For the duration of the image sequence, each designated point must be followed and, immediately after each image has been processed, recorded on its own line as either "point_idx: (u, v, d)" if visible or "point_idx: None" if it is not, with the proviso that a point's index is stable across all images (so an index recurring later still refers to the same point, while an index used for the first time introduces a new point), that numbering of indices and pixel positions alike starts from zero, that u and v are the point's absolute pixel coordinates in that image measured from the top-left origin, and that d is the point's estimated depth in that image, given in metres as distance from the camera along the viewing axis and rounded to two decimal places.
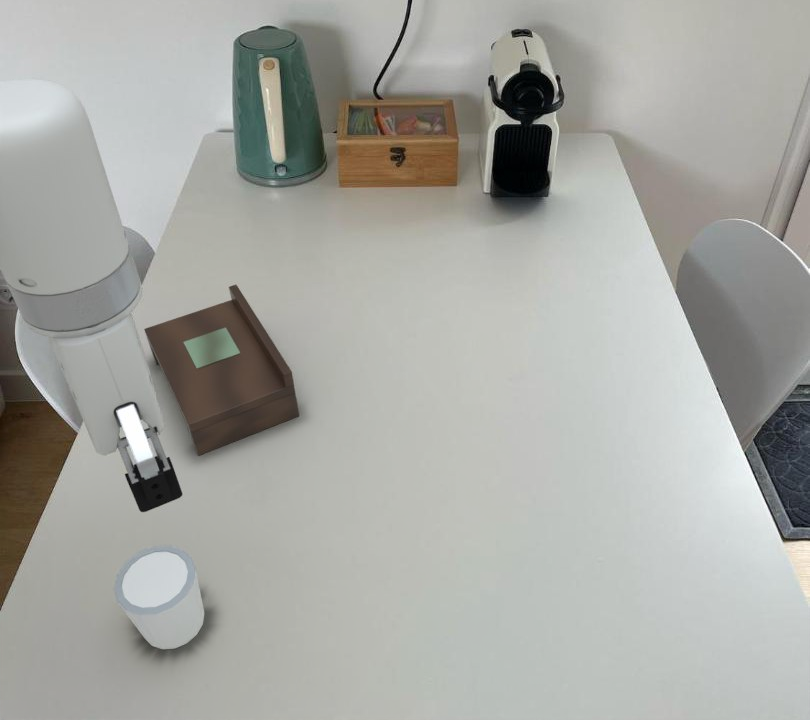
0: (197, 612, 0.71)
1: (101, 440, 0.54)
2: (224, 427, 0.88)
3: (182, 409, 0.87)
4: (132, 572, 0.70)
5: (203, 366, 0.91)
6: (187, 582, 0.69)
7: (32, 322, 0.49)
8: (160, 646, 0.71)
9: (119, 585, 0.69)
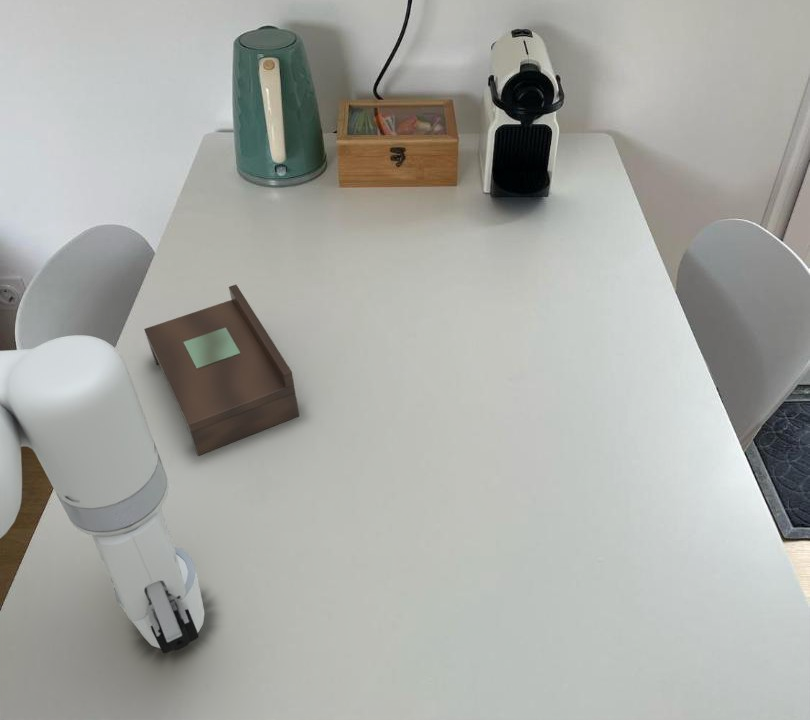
0: (197, 612, 0.71)
1: (133, 611, 0.63)
2: (224, 427, 0.88)
3: (182, 409, 0.87)
4: None
5: (203, 366, 0.91)
6: (187, 582, 0.69)
7: (77, 523, 0.59)
8: None
9: None
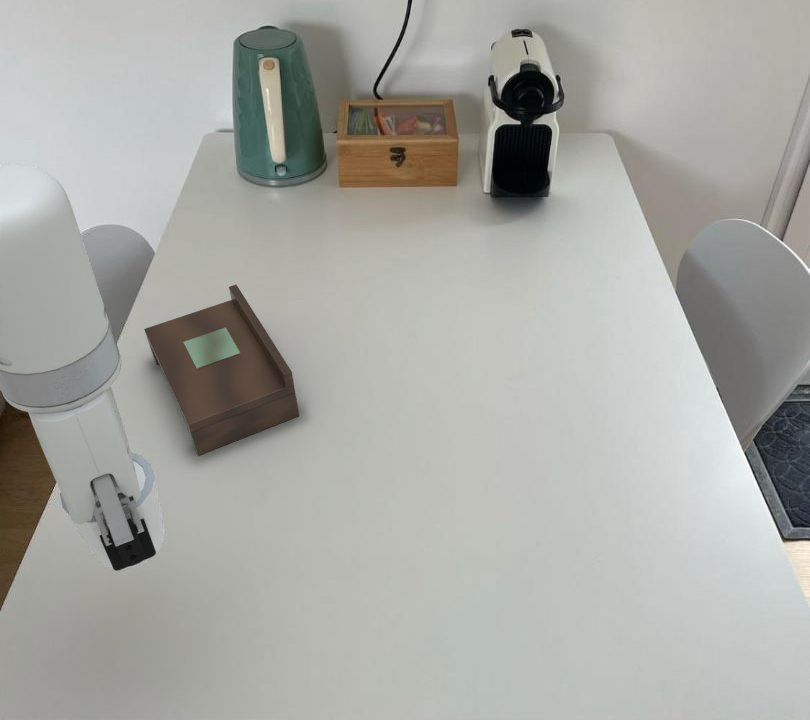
0: (156, 527, 0.63)
1: (77, 510, 0.54)
2: (224, 427, 0.88)
3: (182, 409, 0.87)
4: None
5: (203, 366, 0.91)
6: (144, 489, 0.60)
7: (10, 397, 0.50)
8: None
9: None
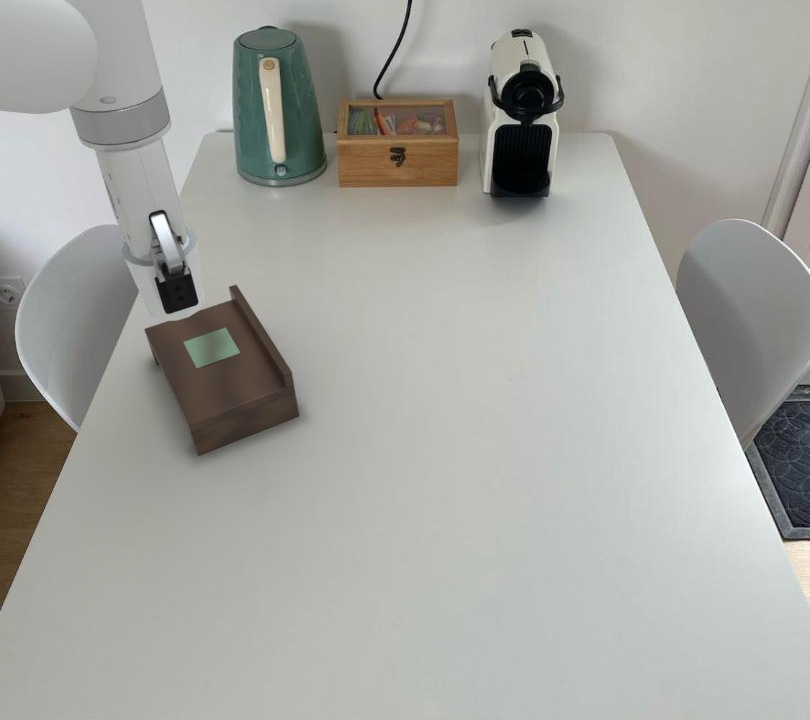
0: (198, 285, 0.77)
1: (138, 242, 0.68)
2: (224, 427, 0.88)
3: (182, 409, 0.87)
4: None
5: (203, 366, 0.91)
6: (189, 246, 0.74)
7: (87, 138, 0.64)
8: (163, 316, 0.77)
9: (126, 248, 0.75)
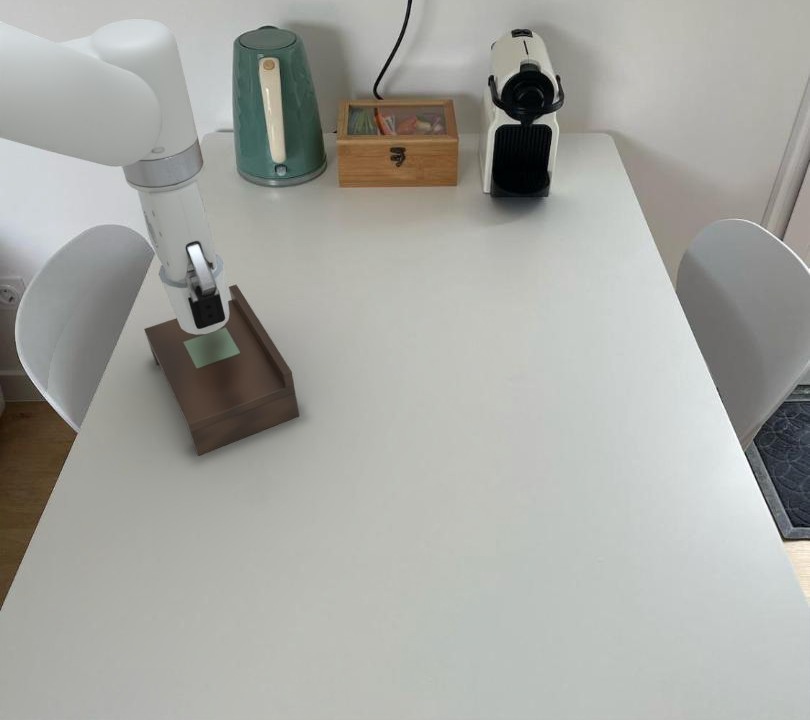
0: (224, 303, 0.88)
1: (176, 268, 0.79)
2: (224, 427, 0.88)
3: (182, 409, 0.87)
4: None
5: (203, 366, 0.91)
6: (217, 269, 0.86)
7: (135, 181, 0.75)
8: (194, 330, 0.88)
9: (162, 271, 0.86)
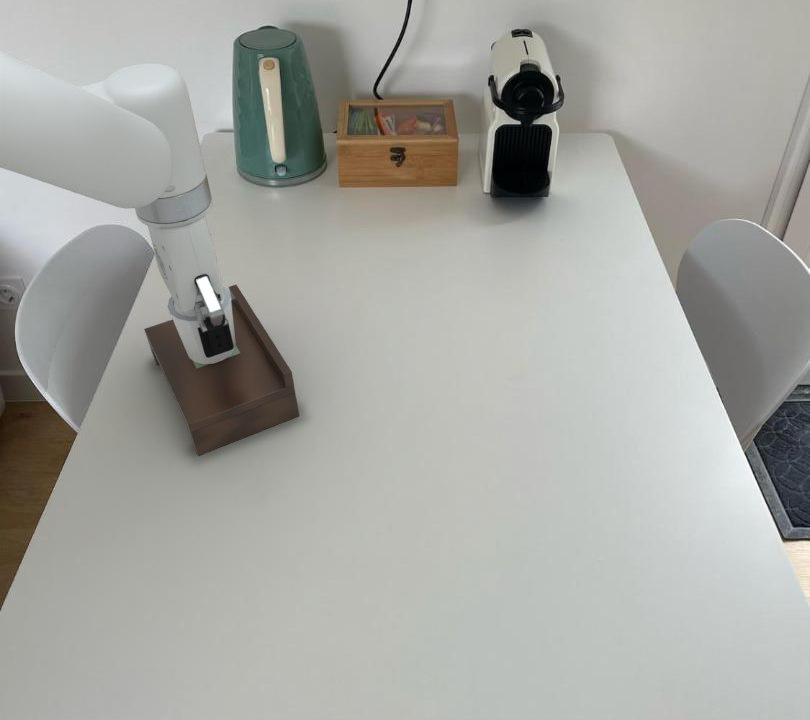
0: (231, 334, 0.91)
1: (185, 300, 0.82)
2: (224, 427, 0.88)
3: (182, 409, 0.87)
4: None
5: (203, 366, 0.91)
6: (224, 302, 0.89)
7: (146, 218, 0.78)
8: (202, 360, 0.91)
9: (171, 304, 0.89)
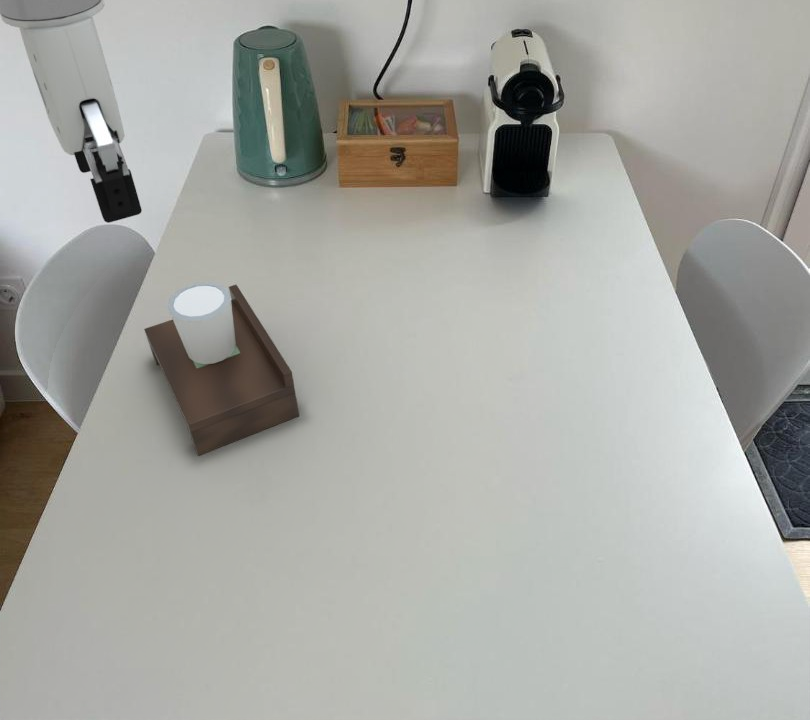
0: (231, 334, 0.91)
1: (69, 134, 0.63)
2: (224, 427, 0.88)
3: (182, 409, 0.87)
4: (181, 297, 0.90)
5: (203, 366, 0.91)
6: (224, 302, 0.89)
7: (9, 14, 0.59)
8: (202, 360, 0.91)
9: (171, 304, 0.89)
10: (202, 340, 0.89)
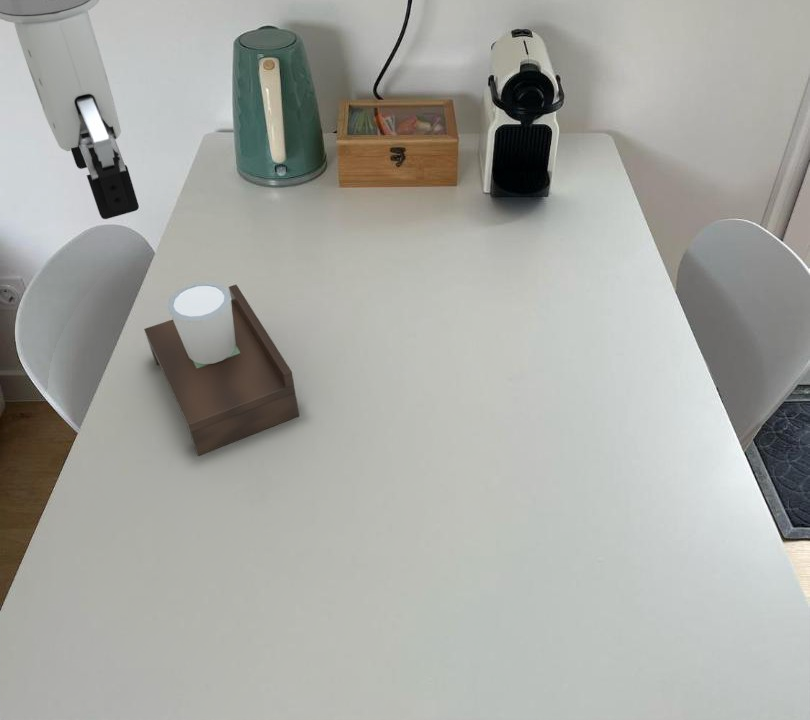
0: (231, 334, 0.91)
1: (64, 130, 0.62)
2: (224, 427, 0.88)
3: (182, 409, 0.87)
4: (181, 297, 0.90)
5: (203, 366, 0.91)
6: (224, 302, 0.89)
7: (3, 9, 0.58)
8: (202, 360, 0.91)
9: (171, 304, 0.89)
10: (202, 340, 0.89)
